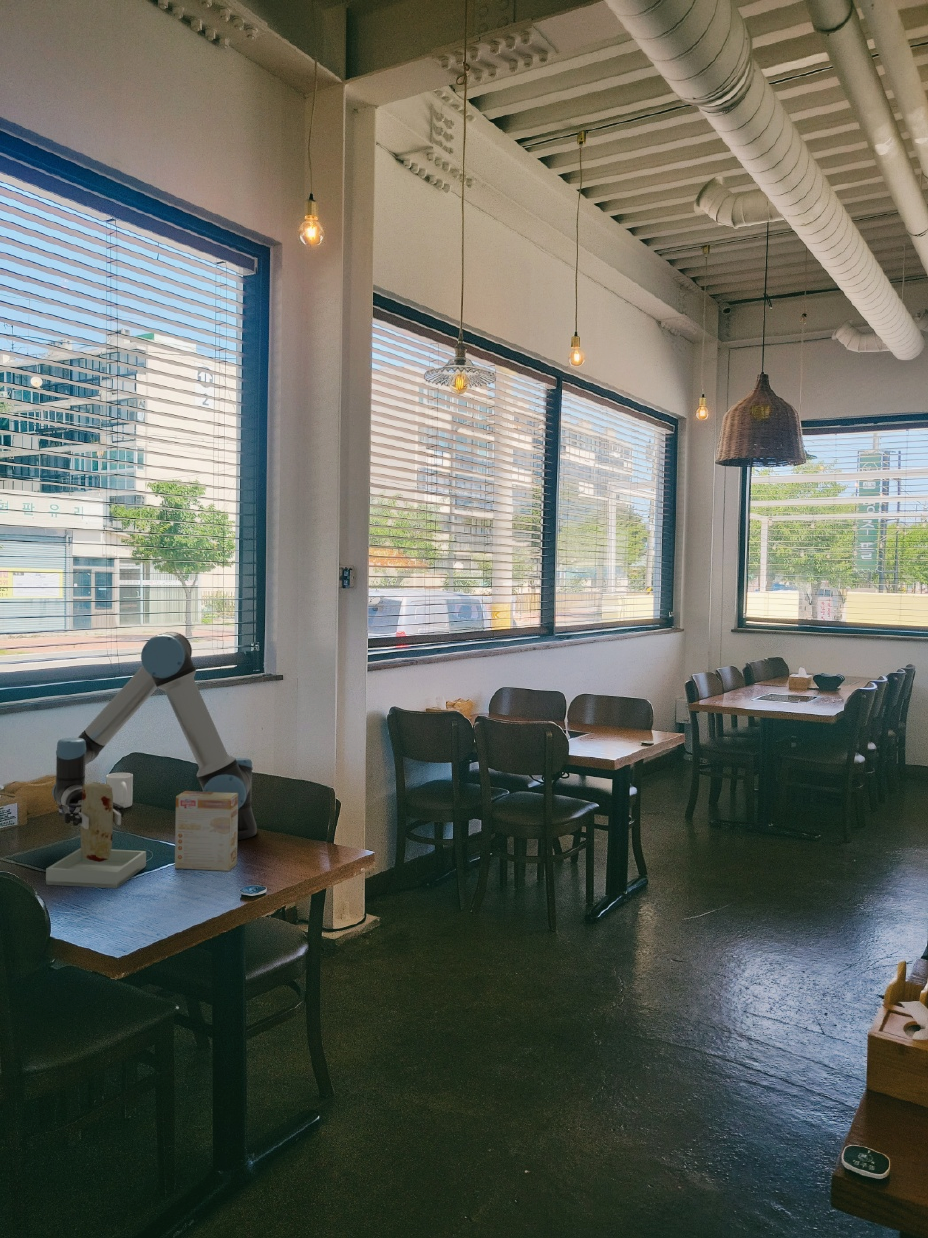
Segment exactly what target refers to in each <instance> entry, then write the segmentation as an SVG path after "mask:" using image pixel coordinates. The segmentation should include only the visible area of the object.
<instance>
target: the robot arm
mask: <svg viewBox="0 0 928 1238" xmlns="http://www.w3.org/2000/svg"><path fill="white" fill-rule="evenodd" d="M192 654H193V649H192V645H191V642H190V641H189V639H188V638H187V637H186V636H185V635H184V634H182V633H179V632H177V631H167V632H163V633H160V634H159V633H158V634H157V635H154V636H152V637H151V638H149V639H148V640H147V641H146V643H145V644H144V646H143V647H142V650H141V655H140V660H141V664H142V666H141V667H140V668H139V669H138V670H137V671H136V672H135V673H134V674H133V676H132V677H130V679H129V680H128V681H127V683H126V684H124V686H123V687H122V688H121V689H120V690H119V691H118V693H116V695H114V697H113V698H112V699H111V700H110V701H109V702H108V703H107V705H106V706H105V707H104V708H103V709H102V710H101V711H100V713H99V714H98V715H97V716H96V717H95V718H94V719H93V720H92V721H91V723H89V725H88V726H86V728H85V729H84V730H83V731H82V732H81V733H80V735H78V737H65V738H61V739H59V740H58V741H57V744H56V751H55V755H56V765H55V766H56V767H55V769H56V771H55V784H54V786H53V788H52V792H51V793H52V798H53V799H54V801H55V802H56V803H57V805H58V815H59V816H60V817H62V819H63V821H64V823H65V824H69V823H71V822H72V826H74V827H75V826H79V825H80V827H81V826H82V827H83V828H85V829H89V818H88V817H87V816H86V815H84V814H83V813H82V812H81V804H82V788H83V785H85V784H86V766H87V765H88V764H89V763H91V762H93V761H95V760H96V758H97V757H98V756H99V754H100V752H102V750H103V749H104V748H105V747H106V746H107V744H109V742H111V740H112V739H113V737H115V736H116V735H117V733H118V732H120V730H121V729H122V728H123V727H124V725H126V723H128V721H129V720H130V719H131V718H132V717H133V716H134V715H135V713H136V712H138V711H139V709H140V708H142V706H143V705H144V704H145V702H146V701H147V700H148V699H149V698H150V697H151V696H152V695H153V694H154V693H155V692H156V690H157V689H160V690H162V691H163V692H165V695H166V697H167V699H168V701H169V704H170V706H171V708H172V710H173V713H174V715H175V717H176V720H177V722H178V723H179V726H180V729H181V730H182V733H183V735H184V737H185V739H186V741H187V744H188V746H189V748H190V750H191V753H192V755H193V757H194V759H195V762H196V764H197V767H198V771H197V773H196V778H197V780H198V782H199V784H200V785H199V786H200V787H201V789H202V792H221V793H238V832H237V841H240V840H246V839H250V838H252V837H254V836H256V835H257V831H258V830H257V829H258V827H257V823H256V820H255V817H254V813H253V810H252V787H253V786H252V785H253V783H252V782H253V778H252V777H253V769H254V768H253V762H252V759H250V758H247V757H245V758H244V757H234V756H231V755H229V754H228V752H227V750H226V748H225V746H224V744H223V742H222V739H221V737H220V734H219V731H218V730H217V727H216V725H215V722H214V721H213V719H212V717H211V715H210V711H209V710H208V708H207V704H206V703H205V701H204V698H203V696H202V694H201V692H200V689H199V687H198V684H197V682H196V680H195V676H196V674H197V669H196V667H195V664H194V662H193V660H192ZM124 809H125V808H124V807H123V806H120V805H118V804H116V803H114V802H113V824H116V825H117V826H121V825H122V818H123V817H124V811H125V810H124Z"/></svg>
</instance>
